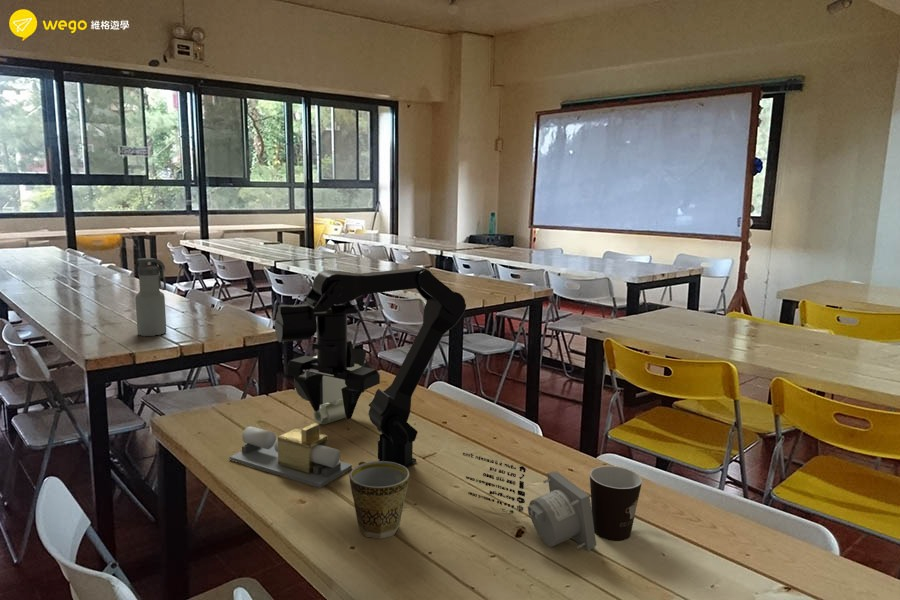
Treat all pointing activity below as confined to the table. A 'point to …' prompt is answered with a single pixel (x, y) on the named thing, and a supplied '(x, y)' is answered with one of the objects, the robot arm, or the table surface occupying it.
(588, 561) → the table surface
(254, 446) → the pipe run
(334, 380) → the ball valve
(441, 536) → the table surface
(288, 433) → the coupling
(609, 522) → the brown paper cup
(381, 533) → the ceramic cup
